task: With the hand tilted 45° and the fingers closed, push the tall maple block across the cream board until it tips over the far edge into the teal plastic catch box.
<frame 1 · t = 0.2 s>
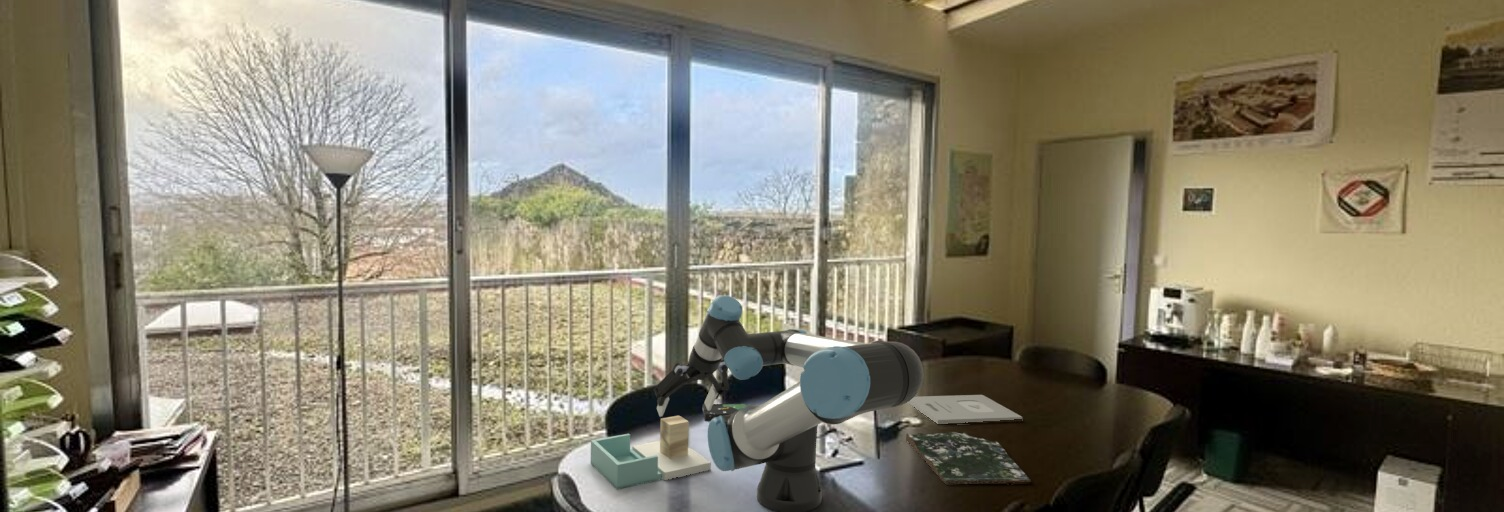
hand: (683, 409, 171), 15 cm above the table, tool tilted 35°, fingers open, 13 cm apart
catch box: (624, 470, 168), on the table
disk drive: (726, 417, 213), on the table
award plaque: (961, 413, 226), on the table
cream board: (670, 461, 175), on the table
maple block: (673, 453, 175), point 2 cm above the table, touching cream board
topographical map: (967, 461, 183), on the table
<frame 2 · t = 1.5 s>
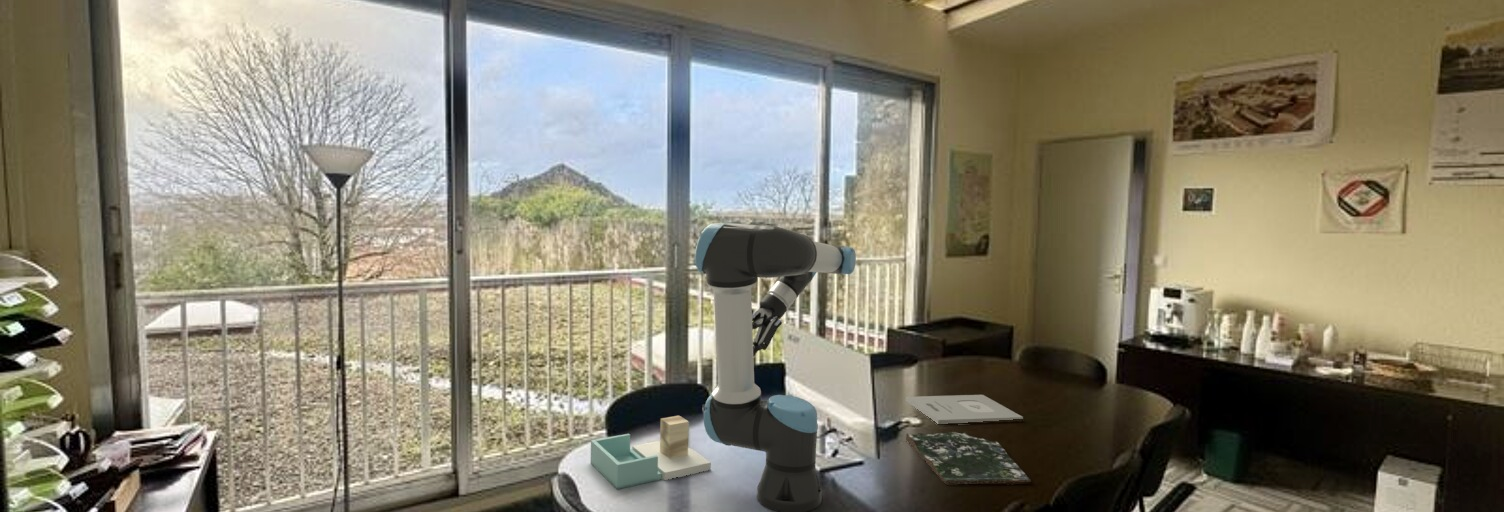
hand: (729, 361, 182), 25 cm above the table, tool tilted 45°, fingers open, 10 cm apart
nothing on the table moved.
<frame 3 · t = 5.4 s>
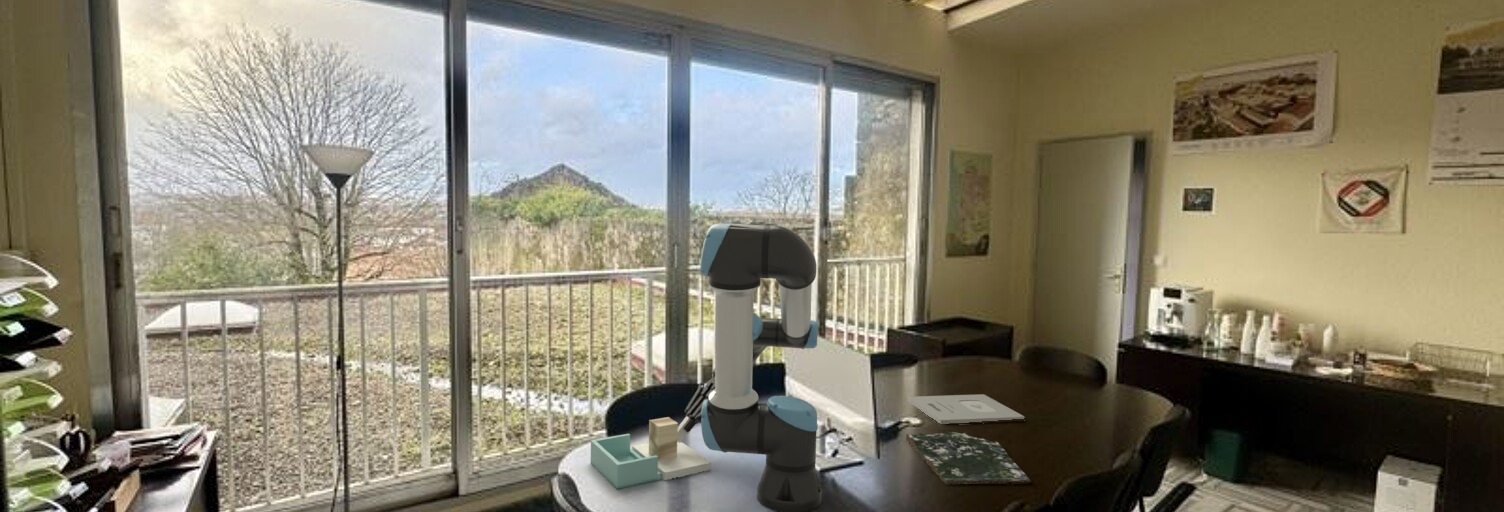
hand: (675, 439, 176), 5 cm above the table, tool tilted 45°, fingers closed
maple block: (662, 455, 173), point 2 cm above the table, touching gripper
everything else where it was.
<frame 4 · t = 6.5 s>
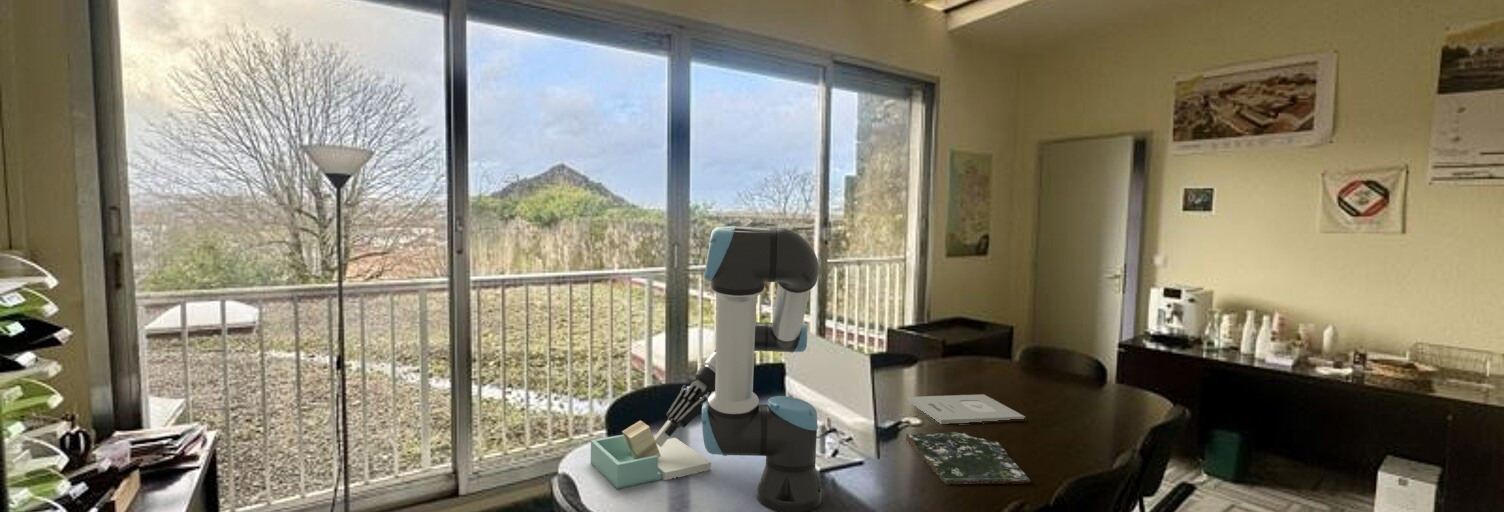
hand: (656, 443, 172), 5 cm above the table, tool tilted 45°, fingers closed
maple block: (647, 458, 171), point 2 cm above the table, tilted 22°, touching catch box
everything else where it was.
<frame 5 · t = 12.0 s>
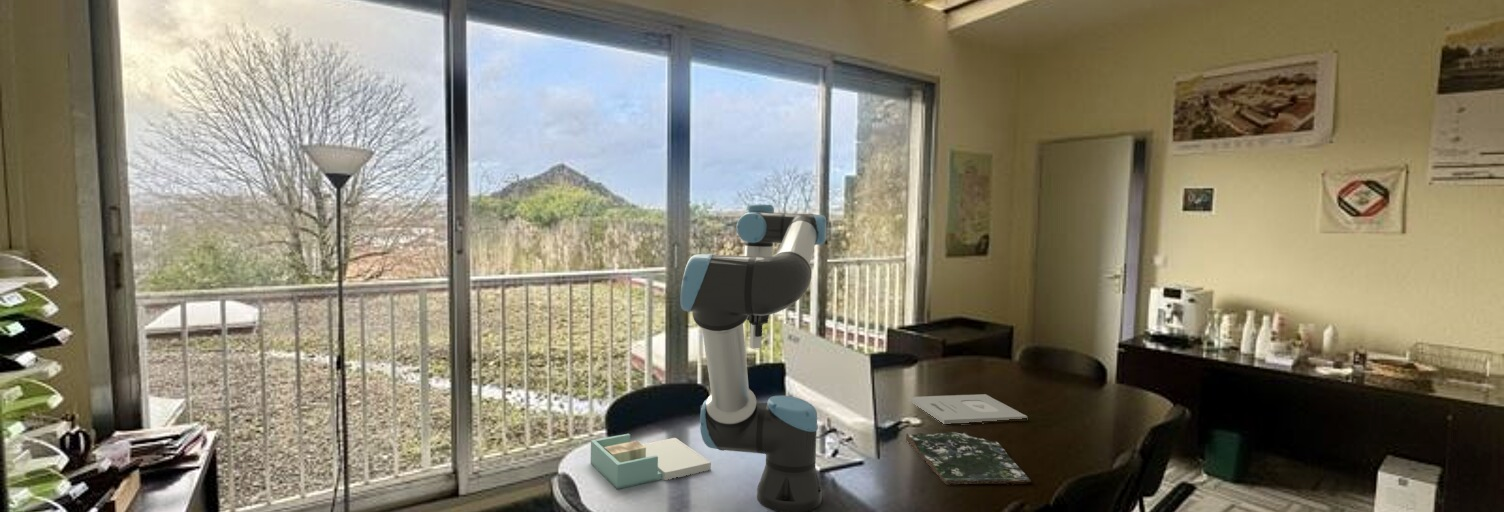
hand: (755, 347, 180), 29 cm above the table, tool pointing down, fingers closed
maple block: (640, 454, 170), point 3 cm above the table, tilted 90°, touching catch box
at the end: maple block inside the target area (4.8 cm from its centre), point 3.2 cm above the table; maple block touching catch box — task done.
